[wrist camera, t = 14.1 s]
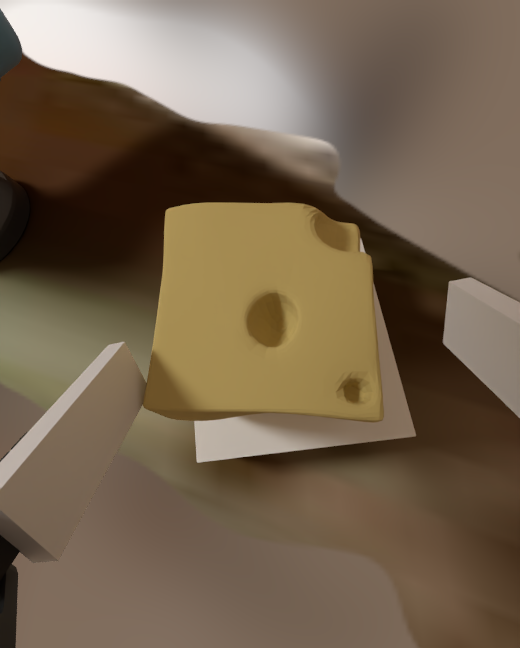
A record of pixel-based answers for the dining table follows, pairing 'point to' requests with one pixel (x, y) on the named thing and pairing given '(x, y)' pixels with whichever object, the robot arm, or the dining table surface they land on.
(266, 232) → the cheese
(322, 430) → the stand
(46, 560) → the robot arm
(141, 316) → the dining table surface
